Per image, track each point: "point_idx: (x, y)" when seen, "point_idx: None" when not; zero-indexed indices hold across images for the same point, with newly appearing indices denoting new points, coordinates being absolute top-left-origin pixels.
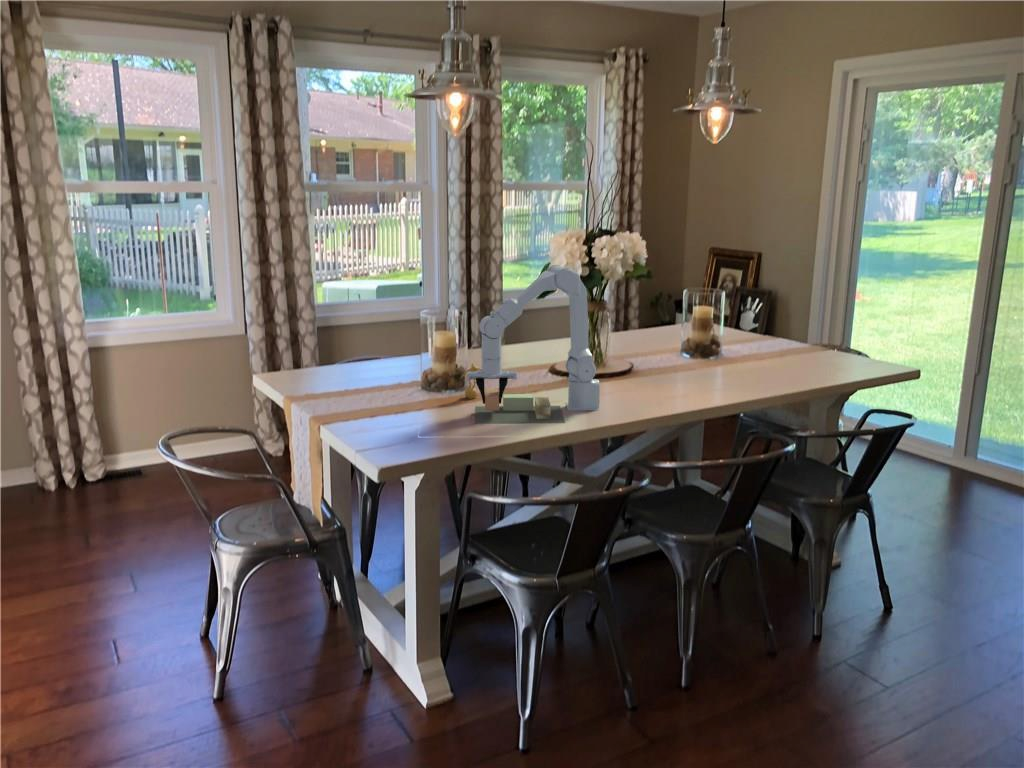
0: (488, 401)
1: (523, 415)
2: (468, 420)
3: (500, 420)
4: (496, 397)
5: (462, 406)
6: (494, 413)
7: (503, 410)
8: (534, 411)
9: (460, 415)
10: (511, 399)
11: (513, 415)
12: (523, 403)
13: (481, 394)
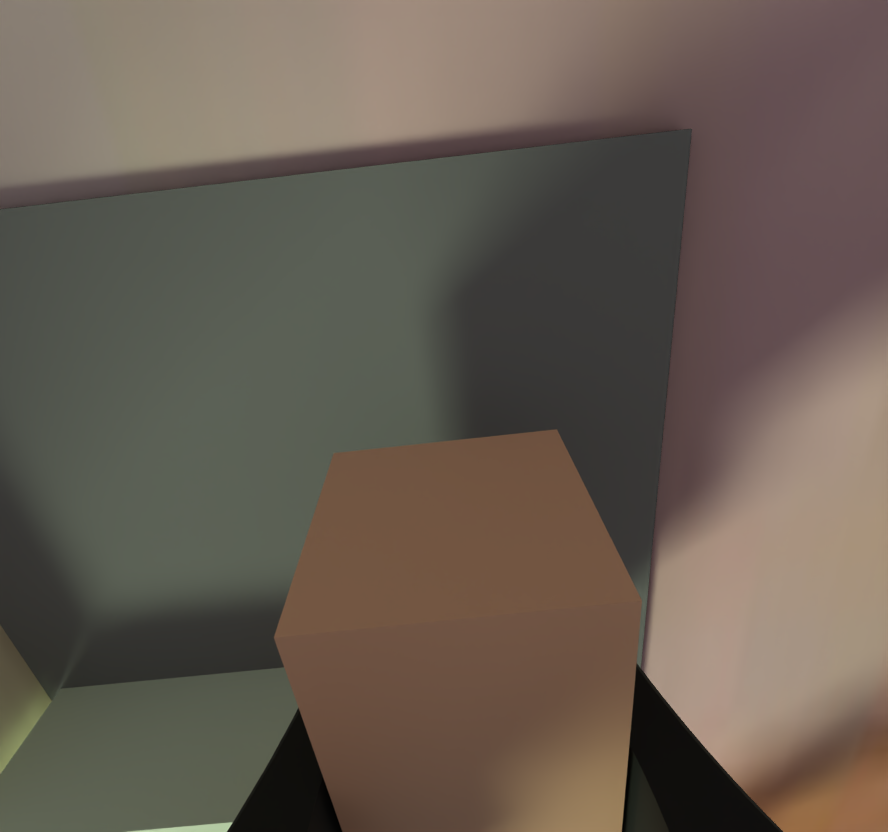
0: (529, 532)
1: (95, 542)
2: (740, 350)
3: (320, 325)
4: (340, 622)
5: (738, 741)
6: None
7: None
8: (33, 663)
9: (803, 520)
10: (237, 797)
11: (208, 531)
12: (117, 755)
13: (708, 756)
